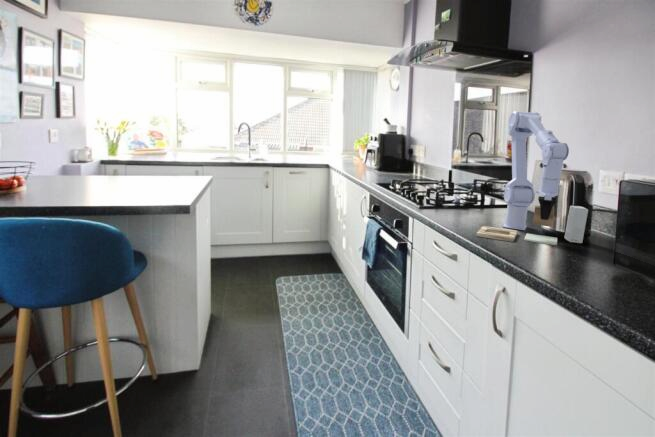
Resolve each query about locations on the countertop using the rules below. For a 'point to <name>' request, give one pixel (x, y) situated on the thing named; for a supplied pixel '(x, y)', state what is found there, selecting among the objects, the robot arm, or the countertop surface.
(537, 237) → the sage tile
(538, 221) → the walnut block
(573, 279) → the countertop surface
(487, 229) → the pocket plate
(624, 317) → the countertop surface
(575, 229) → the skincare box
